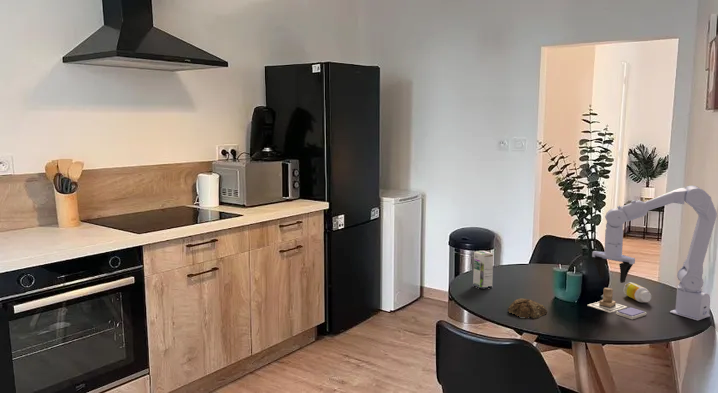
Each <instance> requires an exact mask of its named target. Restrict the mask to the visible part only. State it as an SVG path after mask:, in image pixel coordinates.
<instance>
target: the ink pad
mask: <svg viewBox="0 0 718 393" xmlns="http://www.w3.org/2000/svg"><path fill="white" fill-rule="evenodd" d="M615 315H618V316H620V317H623V318H626V319H630V320H635V319H638V318H642V317H644V316H647V312H646V311H644V310H641V309H637V308H635V307H627V308H624V309H621V310H618V311H615Z"/></svg>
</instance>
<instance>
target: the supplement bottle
mask: <svg viewBox="0 0 718 393" xmlns="http://www.w3.org/2000/svg"><path fill="white" fill-rule="evenodd" d="M622 290H623V293H624V294H625V296H627V297H629V298H630V299H633V300H635V301H636V302H639V303H648V302H650V301H651V300H652V294H651V293H650V291H649V289H647V288H646V287H643V286H642V285H639V283H638V284H637V283H635V282H633V281H632V282H631V281H628V282H627V283H625V284H624V286H623V289H622Z"/></svg>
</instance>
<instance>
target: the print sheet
mask: <svg viewBox="0 0 718 393" xmlns="http://www.w3.org/2000/svg"><path fill="white" fill-rule="evenodd" d="M587 307H590V308H594V309H597V310H600V311H604V312H606V313H609V314H611V313H614V312H617V311H620V310H623V309H626V308H628V306H627V305H623V304H620V303H617V302H616V306H614V307H612V308H607V307H603V306H599V301H597V302H596V301H595V302H593V303H589V304H587Z"/></svg>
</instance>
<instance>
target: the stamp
mask: <svg viewBox="0 0 718 393" xmlns="http://www.w3.org/2000/svg"><path fill="white" fill-rule="evenodd" d="M613 291H614V289H613V288H612V287H611V288H610V287H604V288H603V294H602V295H603V296H602V299H601V300H599V301H598V302H599V306H603V307H607V308H612V307H614V306H616V303H617V302H616V300H613V294H614V293H613Z"/></svg>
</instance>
